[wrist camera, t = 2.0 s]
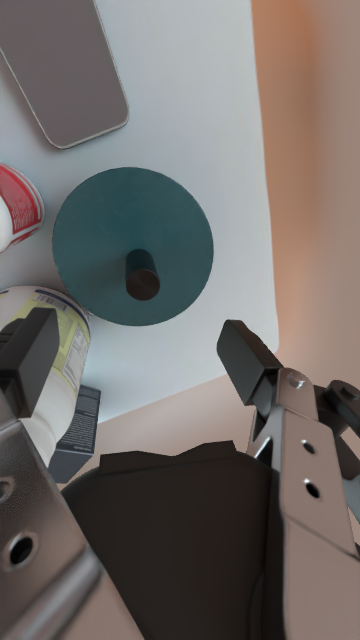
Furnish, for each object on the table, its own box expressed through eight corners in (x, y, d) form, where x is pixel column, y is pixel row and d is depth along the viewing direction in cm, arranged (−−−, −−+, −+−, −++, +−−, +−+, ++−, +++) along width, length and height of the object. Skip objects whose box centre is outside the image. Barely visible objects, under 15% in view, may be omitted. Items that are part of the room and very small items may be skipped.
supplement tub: (8, 365, 30) (-95, 526, 16) (-39, 284, 23) (-287, 441, 9) (100, 354, 32) (79, 488, 18) (81, 278, 25) (27, 397, 11)
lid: (45, 145, 14) (1, 127, 9) (228, 189, 18) (266, 193, 13) (63, 317, 21) (43, 359, 16) (192, 323, 25) (209, 359, 20)
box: (80, 416, 39) (66, 485, 30) (47, 408, 36) (21, 481, 27) (102, 390, 36) (94, 456, 27) (68, 379, 33) (48, 449, 25)
